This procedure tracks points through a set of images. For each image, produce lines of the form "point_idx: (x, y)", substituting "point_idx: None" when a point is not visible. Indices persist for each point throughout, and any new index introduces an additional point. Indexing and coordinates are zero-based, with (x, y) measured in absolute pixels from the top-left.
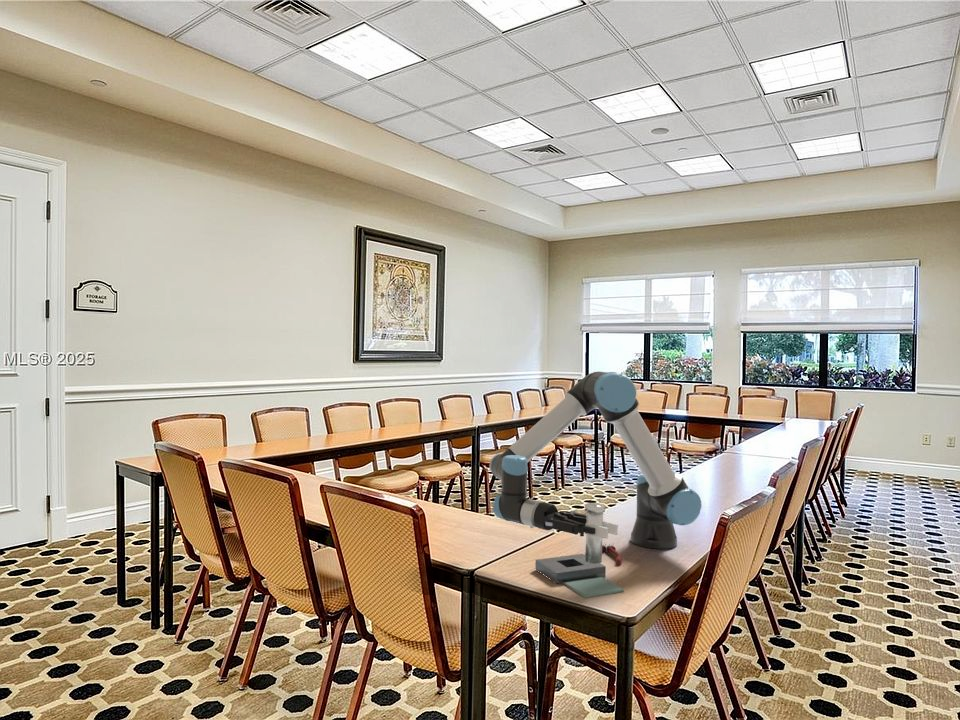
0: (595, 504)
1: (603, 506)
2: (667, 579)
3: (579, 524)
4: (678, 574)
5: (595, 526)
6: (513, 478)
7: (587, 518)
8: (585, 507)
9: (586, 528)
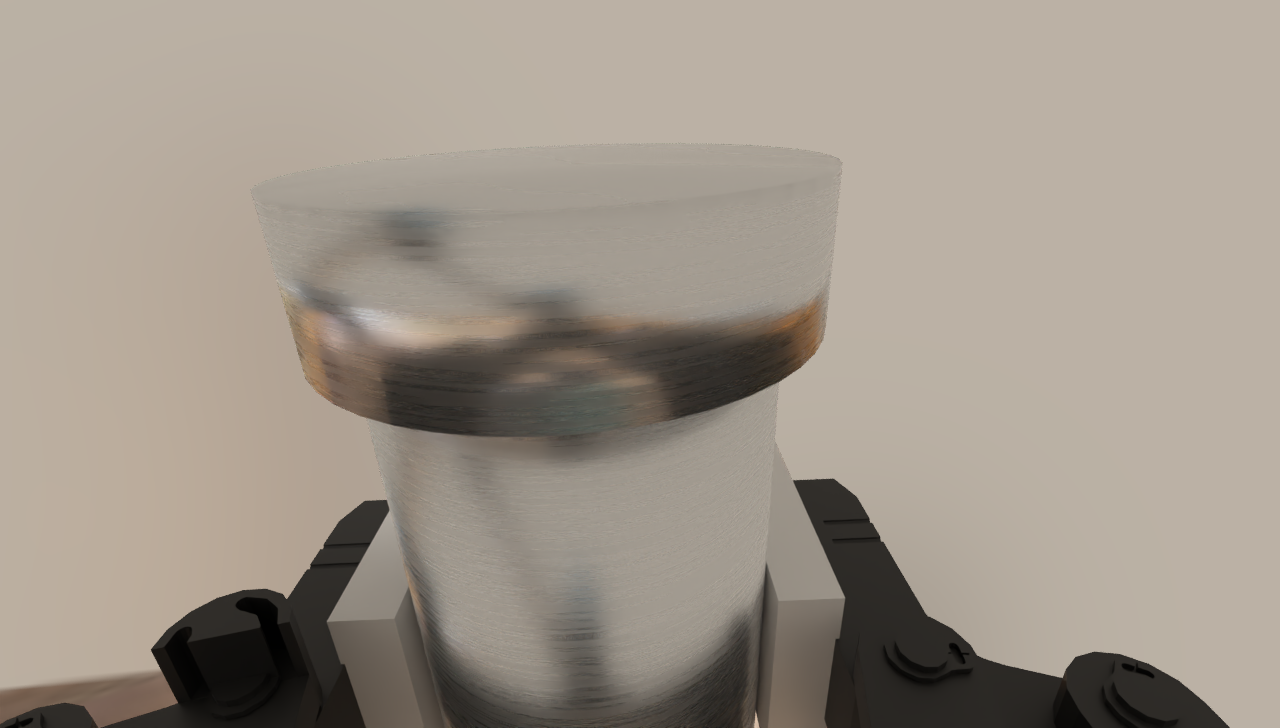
0: (472, 169)
1: (543, 148)
2: (142, 702)
3: (990, 700)
4: (7, 697)
5: (777, 455)
6: None
7: (760, 513)
8: (796, 269)
9: (892, 579)
